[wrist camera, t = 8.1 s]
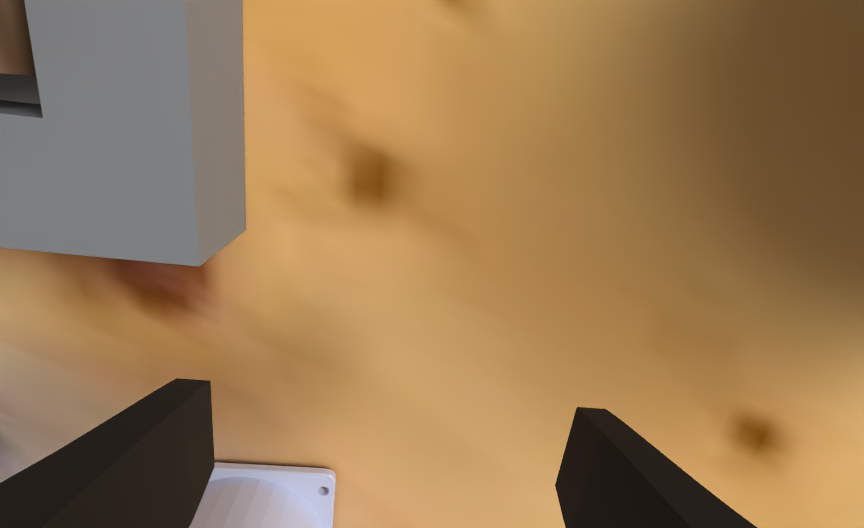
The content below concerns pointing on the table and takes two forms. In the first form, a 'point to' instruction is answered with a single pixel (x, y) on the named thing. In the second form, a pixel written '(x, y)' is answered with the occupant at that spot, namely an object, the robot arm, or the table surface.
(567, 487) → the robot arm
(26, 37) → the peg
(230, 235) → the socket block
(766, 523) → the table surface
